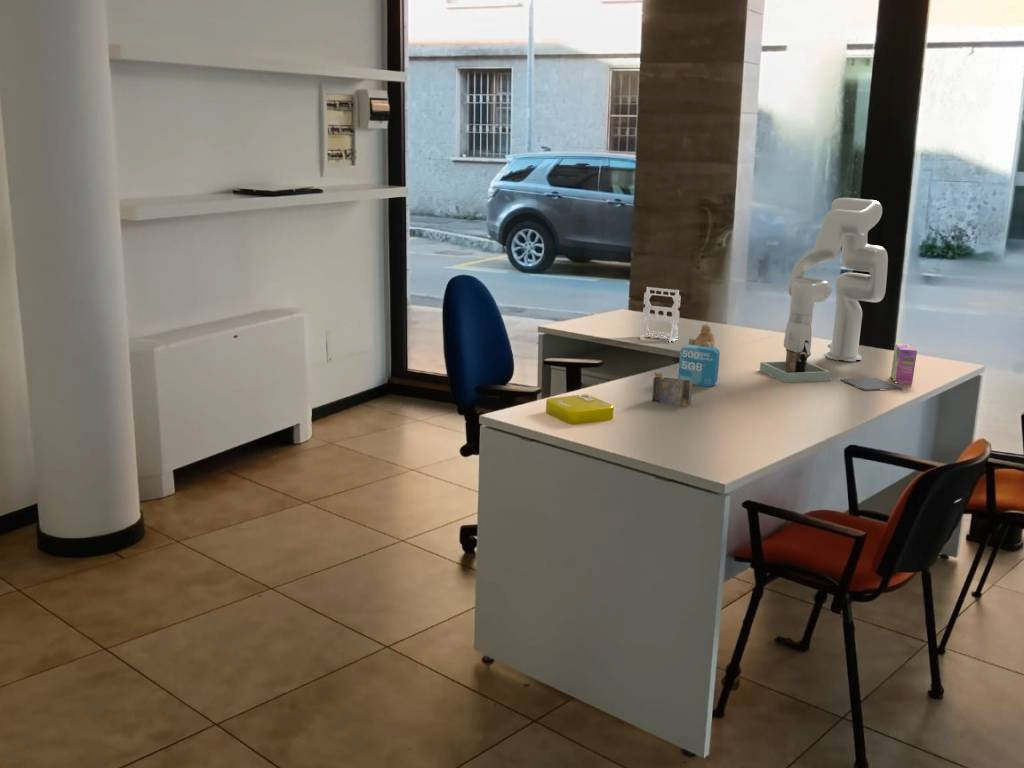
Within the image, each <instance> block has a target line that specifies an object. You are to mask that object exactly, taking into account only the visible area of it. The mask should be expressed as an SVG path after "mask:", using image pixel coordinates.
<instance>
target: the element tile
mask: <svg viewBox="0 0 1024 768" xmlns="http://www.w3.org/2000/svg"><path fill="white" fill-rule="evenodd" d="M545 403H546V404H545V405H546V406H545V413H546V414H547V415H549V416H552V417H554V418H555V419H558V420H559V421H562V422H564V423H566V424H567V425H576V426H577V425H583V424H592V423H593V424H594V423H599V422H607V421H612V420H613V419H614V410H615V409H614V407H615V406H614V405H613V404H611V403H609V402H606V401H604V400H601V399H599V398H597V397H594V396H592V395H590V394H586V393H585V394H576V395H567V396H566V395H565V396H559V397H550V398H549V397H548V398H547V399H546V402H545Z"/></svg>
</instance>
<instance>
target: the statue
mask: <svg viewBox="0 0 1024 768" xmlns="http://www.w3.org/2000/svg"><path fill="white" fill-rule="evenodd" d="M711 329H712V328H711V326H710V325H709V324H707V323H706V324H703V325H701V329H700V332H699V334H698V335H697V337H696V338H695V339H694V338H689V339H688V344H687V345H695V346H703V347H711V348H715V336H714V334H713V333H712V332H711V331H712V330H711Z"/></svg>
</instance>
